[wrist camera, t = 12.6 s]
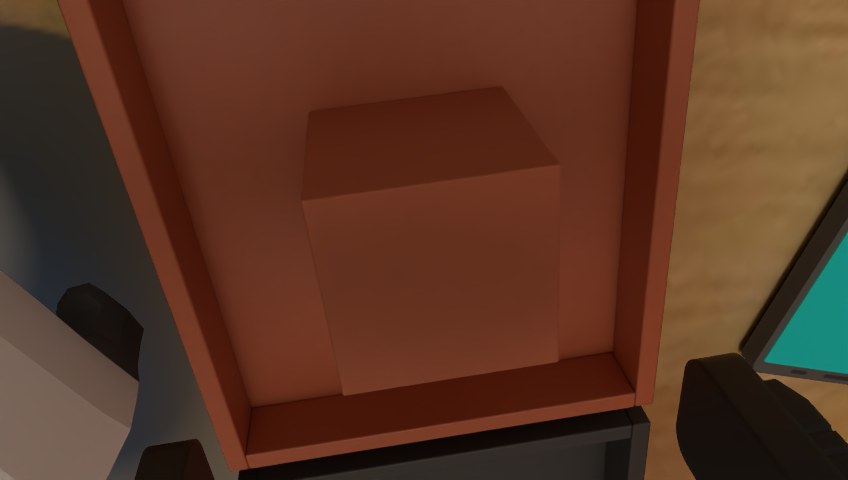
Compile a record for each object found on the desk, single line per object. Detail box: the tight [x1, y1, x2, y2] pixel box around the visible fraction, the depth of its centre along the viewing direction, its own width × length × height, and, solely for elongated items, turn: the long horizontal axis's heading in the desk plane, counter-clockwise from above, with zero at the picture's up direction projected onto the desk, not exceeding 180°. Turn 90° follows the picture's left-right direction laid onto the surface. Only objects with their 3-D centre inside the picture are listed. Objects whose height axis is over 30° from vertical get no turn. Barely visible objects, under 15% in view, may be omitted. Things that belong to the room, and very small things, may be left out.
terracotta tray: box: [57, 0, 700, 472], centre depth 17 cm, size 13×15×3 cm
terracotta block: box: [301, 86, 561, 396], centre depth 16 cm, size 5×5×5 cm
